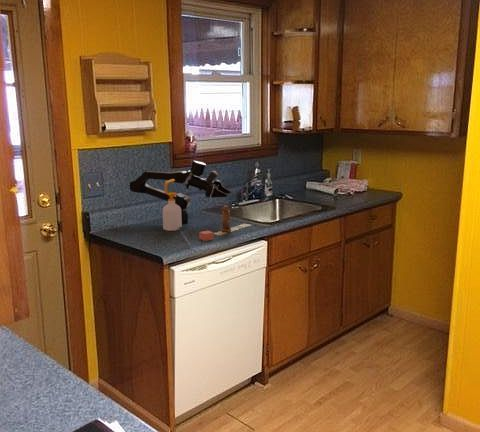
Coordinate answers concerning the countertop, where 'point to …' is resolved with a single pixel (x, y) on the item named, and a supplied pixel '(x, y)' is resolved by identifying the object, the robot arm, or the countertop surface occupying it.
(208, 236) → the red cube
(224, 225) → the pawn
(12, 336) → the countertop surface
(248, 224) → the track board
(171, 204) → the soap bottle
